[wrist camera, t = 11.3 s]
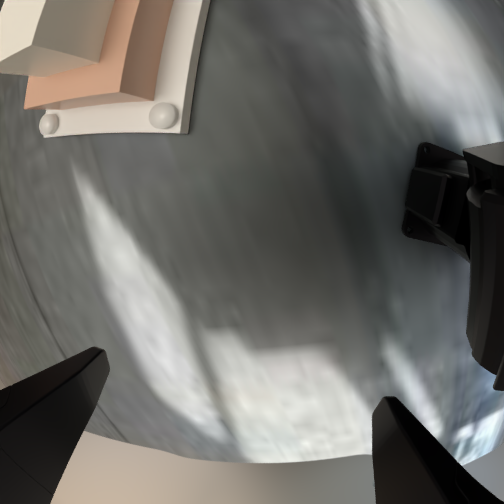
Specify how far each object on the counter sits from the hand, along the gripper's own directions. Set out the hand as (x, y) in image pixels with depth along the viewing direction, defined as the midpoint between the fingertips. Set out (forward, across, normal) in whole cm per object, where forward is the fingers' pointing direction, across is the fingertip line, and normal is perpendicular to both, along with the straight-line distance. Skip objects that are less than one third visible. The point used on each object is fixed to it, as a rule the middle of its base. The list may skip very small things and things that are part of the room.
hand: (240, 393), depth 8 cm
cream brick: (+6, +12, -13) cm, 19 cm away
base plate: (+12, +12, -13) cm, 21 cm away
